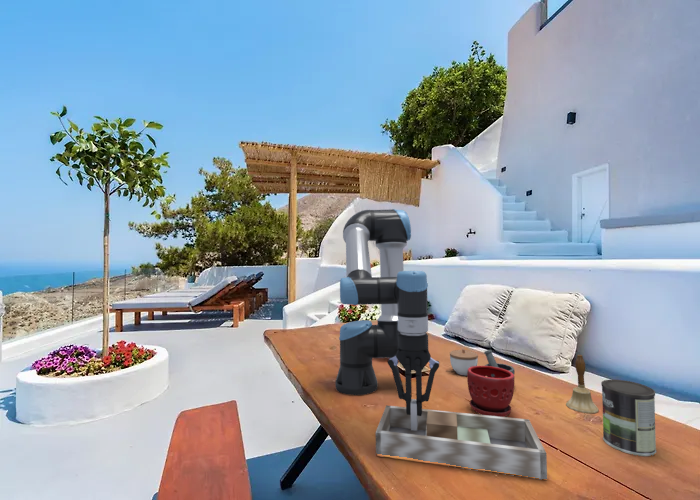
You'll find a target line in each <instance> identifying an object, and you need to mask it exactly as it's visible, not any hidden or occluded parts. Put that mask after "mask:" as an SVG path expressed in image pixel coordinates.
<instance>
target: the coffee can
mask: <svg viewBox="0 0 700 500" xmlns="http://www.w3.org/2000/svg"><path fill="white" fill-rule="evenodd" d="M601 393H602V394H601V395H602V403H601V404H602V431H603V432H602V433H603V434H602V435H603V436H602V439H603V441H604V443H605V444H607V445H608V446H609V447H611V448H613V449H615V450H617V451H620V452H622V453H625V454H628V455H632V454H633V455H632V456H637V455H638V456H639V457H651V455H652V456H654V454H655V453H656V454H657V445H656V443H657V440H656V438H657V437H656V406H655V402H656V401H655V396H656V391H655V390H654V388H652V387H649V386H647V385H645V384H642V383H638V382H635V381H630V380H629V381H628V380H624V379H605V380H602V381H601ZM656 454H655V455H656ZM638 456H637V457H638Z"/></svg>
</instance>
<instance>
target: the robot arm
mask: <svg viewBox="0 0 700 500" xmlns="http://www.w3.org/2000/svg"><path fill="white" fill-rule="evenodd" d="M410 220H411V219H410V216H409V215H408V213H407V212H406V211H405V210H403V209H395V208H392V209H364V210H361V211H359V212H356V213H354V214H353V215H352V216H351V217H350V218H349V219H348V220H347V221H346V223H345V224H344V227H343V230H342V239H343V241H344V243H345V260H346V261H345V264H346V265H345V266H346V268H345V269H346V273H345V274H346V276H345V277H342V278H340V280H339V299H340V300H339V301H340V303H341V304H342V305H353V306H357V305H359V306H360V305H380V306H381V307H380V308H381V309H380V310H381V315H380V316H379V317H378V318H377V324H373V323H372V321H371V320H369V319H368V320H367V319H365V320H364V319H363V320H355V321H349V322H346V323H344V324H342V325H341V327H340V329H339V337H338V339H339V369H338V371H337V374H336V375H337V376H336V378H335V382H334V383H335V384H334V385H335V390H336V391H337V392H338V393H340V394H343V395H349V396H364V395H369V394H373V393H375V392H376V391H377V390H378V384H379V383H378V379H377V375H376V373H375V370H374V369H375V368H374V367H373V359H388V358H390V359H388V360H387V365H388V366H389V368H390V370H391V372H392V373H391V374H392V376H393V381H394V384H395V388H396V393H397V396H398V399H400V400H403V401H405V407H406V413H407V415H411V430H415V431H417V428H418V416H421V415H422V409H423V403H424V402H429V400H430V397H431V396H430V395H431V391H432V389H433V388H432V387H433V384H434V379H435V375H436V372H437V370H439V368H440V361H439V360H436V359H434V358H432V357H431V354H430V350H429V335H428V333H427V332H428V331H429V316H428V309H429V308H428V288H429V285H428V284H429V283H428V278H427V277H428V276H427V273H426V272H425V271H423V270H404V248H405V247H406V246H407V244H408V241H410V240H411V239H412V226H411V221H410ZM370 241H371V242H372V241H373V242H375V247H376V249H378V250H379V267H380V268H379V270H380V275H379V276H377V277H376V276H375V277H372V276H373V275H372V267H371V258H370V257H371V256H370V251H369V250H370V249H369V242H370ZM399 363H400V364H401V367H402V368H403V369H404V375H405V376H404V377H405V390H404V385H403V381H402V377H401V374H400V369H399V366H398V365H399ZM428 363H429V365H428V367H429V368H430V369H429V373H428V379H427V382H426V388H425V391H424V393H423V383H422V382H423V379H422V377H423V375H422V374H423V373H422V370H424V368H425V367H426V366H427V364H428ZM412 371H414V372H415V391H416V392H415V396H416V397H415V399H414V398H412V396H413V395H412V394H413V393H412V391H413V390H412V387H413V386H412Z"/></svg>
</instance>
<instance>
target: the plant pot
mask: <svg viewBox="0 0 700 500" xmlns="http://www.w3.org/2000/svg"><path fill="white" fill-rule="evenodd" d="M492 374H494V375H495V376H494V377H492V376H491V375H492ZM466 376H467V377H466V378H467V379H466V381H467V386H468V387H467V388H468V393H469V396H470V399H471V400H469V406H470V408H471V409H472V410H473V411H474V412H475V413H477V414H478V415H488V416H498V417H508V415H510V413H511V412H512V407H511V405H510V404H511V403H512V400H513V397H514V392H515V374H513V373H512V372H510V371H508V370H505V369H502V368H498V367H492V366H485V365H477V366H472V367H470V368H468V372H467V375H466ZM487 376H488V377H487ZM500 377H501V378H500Z"/></svg>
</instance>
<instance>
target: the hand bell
mask: <svg viewBox="0 0 700 500" xmlns="http://www.w3.org/2000/svg"><path fill="white" fill-rule="evenodd" d="M574 362H575V365H574V367H575V371H576V373H577V386H575V387H573V388H572V393H571V398H570V399H569V400H568V401H566V403H565V404H566V405H565V406H566V407H568V408H569V409H570V410H572V411H575V412H578V413H584V414H597V413H599V412H600V411H599V407H598V406H597V405H596V404H595V403H594V401H593V398H592V393H591V391H590V389H588V388H586V385H585V384H586V383H585V373H586V362H585V360H584V357H583V354H577V356H576V359H575V361H574Z"/></svg>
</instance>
